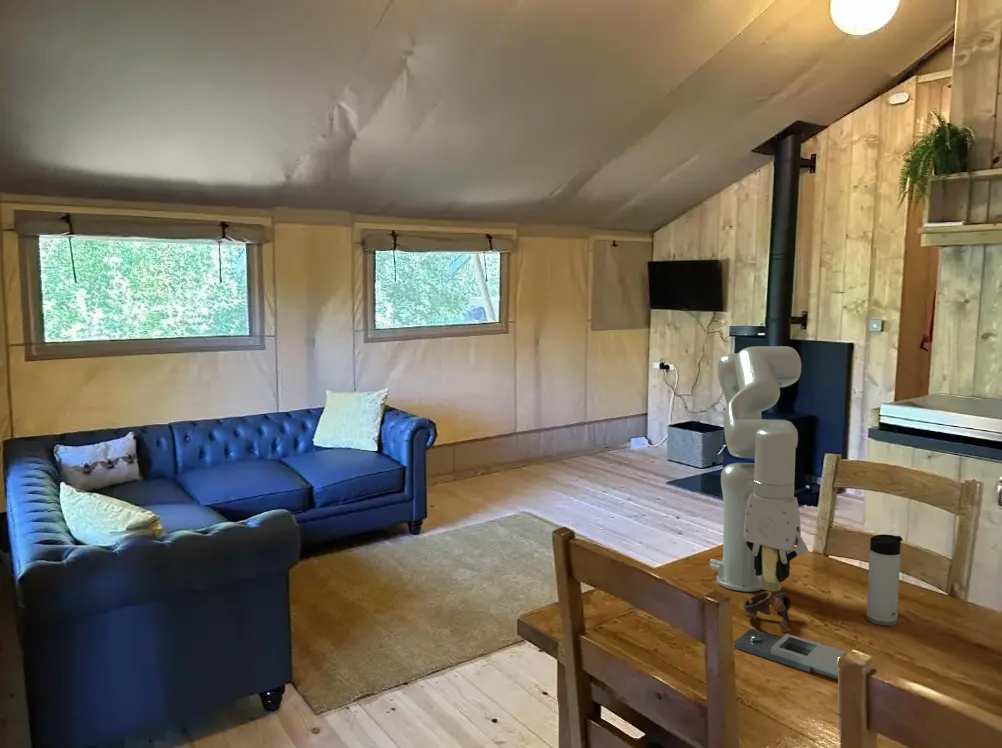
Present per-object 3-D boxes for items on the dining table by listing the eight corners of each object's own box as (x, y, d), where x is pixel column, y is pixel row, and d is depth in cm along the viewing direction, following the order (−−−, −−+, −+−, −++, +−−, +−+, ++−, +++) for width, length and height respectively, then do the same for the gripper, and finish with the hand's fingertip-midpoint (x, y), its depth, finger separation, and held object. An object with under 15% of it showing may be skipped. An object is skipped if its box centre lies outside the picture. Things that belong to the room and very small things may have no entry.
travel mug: (902, 627, 170) (906, 541, 167) (870, 625, 171) (874, 540, 169) (893, 615, 176) (897, 532, 174) (863, 613, 177) (867, 531, 175)
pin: (753, 587, 153) (754, 535, 152) (764, 579, 157) (765, 528, 155) (777, 594, 150) (779, 541, 148) (788, 586, 153) (789, 534, 152)
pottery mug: (779, 640, 166) (760, 606, 167) (749, 642, 174) (731, 610, 175) (809, 612, 173) (790, 580, 174) (779, 616, 181) (761, 584, 182)
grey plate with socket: (734, 648, 162) (734, 633, 162) (750, 634, 168) (750, 620, 168) (851, 686, 146) (852, 670, 146) (865, 670, 152) (865, 654, 152)
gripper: (726, 485, 153) (724, 571, 156) (808, 501, 142) (805, 594, 144) (742, 478, 159) (741, 561, 161) (823, 492, 147) (820, 582, 150)
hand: (771, 576), depth 153 cm, fingers closed on pin, 4 cm apart
